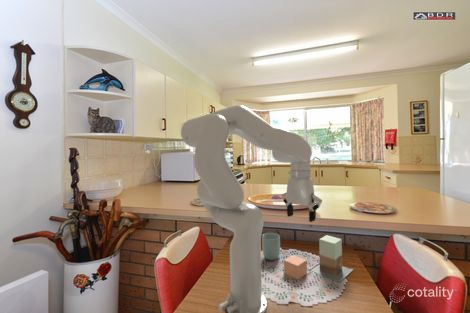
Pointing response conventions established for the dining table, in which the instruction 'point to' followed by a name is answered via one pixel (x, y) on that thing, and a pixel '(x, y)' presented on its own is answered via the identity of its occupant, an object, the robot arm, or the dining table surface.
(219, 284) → the dining table surface
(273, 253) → the cup
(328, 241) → the sage brick
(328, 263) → the walnut brick
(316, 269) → the plate
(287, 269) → the terracotta brick
